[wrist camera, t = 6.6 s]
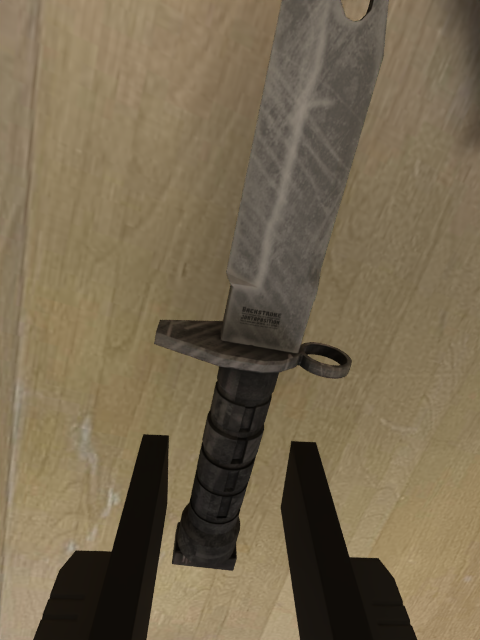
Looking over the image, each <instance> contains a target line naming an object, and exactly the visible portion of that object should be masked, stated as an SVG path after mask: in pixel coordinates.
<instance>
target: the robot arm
mask: <svg viewBox="0 0 480 640" xmlns="http://www.w3.org/2000/svg"><path fill="white" fill-rule="evenodd" d="M168 449H169V436H168V435H146V434H143V437H142V441H141V445H140V448H139V452H138V456H137V460H136V463H135V467H134V471H133V475H132V478H131V482H130V486H129V489H128V493H127V497H126V501H125V504H124V508H123V512H122V515H121V519H120V523H119V527H118V530H117V534H116V538H115V541H114V545H113V549H112V552H108V551H75V552H74V553H73V555H72V556H71V557H70V558H69V559H68V561H67V562H66V563H65V564H64V566H63V567H62V568H61V569H60V570H59V573H58V575H57V578H56V581H55V583H54V586H53V589H52V591H51V594H50V599H48V602H47V605H46V607H45V610H44V613H43V617H42V620H41V621H40V623H39V626H38V629H37V631H36V634H35V636H34V639H33V640H146V638H147V632H148V625H149V619H150V612H151V606H152V599H153V593H154V586H155V580H156V574H157V567H158V561H159V554H160V548H161V541H162V535H163V528H164V522H165V515H166V509H167V494H168ZM281 513H282V520H283V527H284V533H285V540H286V547H287V554H288V560H289V567H290V574H291V581H292V588H293V594H294V601H295V608H296V615H297V622H298V628H299V635H300V640H417V638H416V635H415V632H414V630H413V627H412V626H411V625H410V619H409V617H408V614H407V611H406V609H405V606H403V601H402V598H401V595H400V593H399V590H398V587H397V585H396V582H395V580H394V578H393V576H392V575H391V574H390V572H389V571H388V570H387V569H386V567H385V566H384V565H383V564H382V562H381V561H380V560H379V558H352V557H349V554H348V551H347V547H346V544H345V540H344V537H343V534H342V530H341V527H340V523H339V520H338V516H337V513H336V510H335V506H334V503H333V499H332V496H331V492H330V489H329V486H328V482H327V479H326V475H325V472H324V468H323V465H322V462H321V458H320V455H319V451H318V448H317V444H316V442H297V441H291V447H290V453H289V459H288V466H287V472H286V478H285V484H284V490H283V497H282V503H281Z"/></svg>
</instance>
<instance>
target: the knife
mask: <svg viewBox="0 0 480 640" xmlns="http://www.w3.org/2000/svg"><path fill="white" fill-rule="evenodd" d="M388 4H389V0H370V3H369V7H368V10H367V14H366V15H365V16H364V17H363V18H362V19H361V20H360V21H352V20H350V19H349V18H347V17H346V16H345V13H344V9H343V6H342V3H341V0H282V2H281V7H280V12H279V17H278V22H277V26H276V31H275V36H274V41H273V46H272V51H271V56H270V61H269V66H268V71H267V75H266V80H265V85H264V90H263V95H262V100H261V105H260V110H259V115H258V119H257V124H256V129H255V134H254V139H253V144H252V149H251V154H250V159H249V163H248V168H247V173H246V178H245V183H244V188H243V193H242V198H241V203H240V207H239V212H238V217H237V222H236V227H235V232H234V237H233V242H232V247H231V251H230V256H229V261H228V266H227V271H226V273H227V276H228V279H229V282H230V284H231V286H230V290H229V295H228V300H227V304H226V309H225V314H224V319H223V321H190V320H160V322H159V325H158V328H157V331H156V336H155V342H154V344H156V345H159V346H161V347H164V348H167V349H170V350H173V351H176V352H179V353H182V354H185V355H188V356H191V357H194V358H196V359H199V360H202V361H205V362H208V363H211V364H214V365H217V366H219V370H218V375H217V379H218V381H217V382H216V385H215V390H214V395H213V399H212V404H211V408H210V411H209V413H208V416H207V420H206V425H205V430H204V434H203V439H202V440H203V442H202V446H201V450H200V455H199V459H198V464H197V470H196V475H195V479H194V484H193V488H192V495H191V498H190V503H189V504H188V505H187V506H186V507H185V508H184V510H183V512H182V516H181V521H180V522H178V524H177V529H176V534H175V542H174V550H173V559H172V564H176V565H185V566H194V567H203V568H213V569H222V570H231V571H233V569H234V566H235V562H236V559H237V555H236V541H237V537H238V534H239V531H240V520H239V512H240V508H241V505H242V502H243V499H244V495H245V492H246V488H247V485H248V481H249V479H250V475H251V472H252V468H253V465H254V461H255V458H256V455H257V452H258V449H259V445H260V442H261V438H262V435H263V431H264V422H265V419H266V416H267V412H268V409H269V405H270V402H271V398H272V393H273V391H274V389H275V385H276V382H277V378H278V374H279V372H282V371H285V370H288V369H291V368H294V367H296V366H297V365H299V366H301V367H302V368H304V369H305V370H307V371H309V372H310V373H313V374H315V375H318V376H321V377H326V378H334V379H337V378H343V377H345V376H347V374H348V372H349V370H350V367H351V363H352V360H351V358H350V357H349V356H348V355H347V354H346V353H345V352H343V351H341V350H340V349H338V348H335V347H333V346H330V345H327V344H322V343H316V342H309V343H304V344H302V345H301V342H302V339H303V335H304V332H305V329H306V325H307V322H308V319H309V315H310V312H311V309H312V305H313V302H314V301H315V298H316V294H317V291H318V285H319V279H320V272H321V267H322V264H323V260H324V257H325V254H326V250H327V247H328V243H329V240H330V237H331V233H332V230H333V227H334V223H335V220H336V216H337V213H338V210H339V206H340V203H341V200H342V196H343V193H344V189H345V186H346V183H347V179H348V176H349V172H350V169H351V166H352V162H353V159H354V155H355V152H356V148H357V145H358V142H359V138H360V135H361V131H362V128H363V125H364V121H365V118H366V114H367V111H368V107H369V104H370V101H371V97H372V94H373V90H374V87H375V83H376V80H377V77H378V73H379V70H380V66H381V63H382V60H383V56H384V45H385V34H386V23H387V14H388ZM308 354H315V355H321V356H325V357H328V358H330V359H332V360H334V361H336V362H338V363H339V364H340V365H339V366H336V365H328V364H324V363H321V362H318V361H316V360H314V359H312V358H310V357H309V356H308Z"/></svg>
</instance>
